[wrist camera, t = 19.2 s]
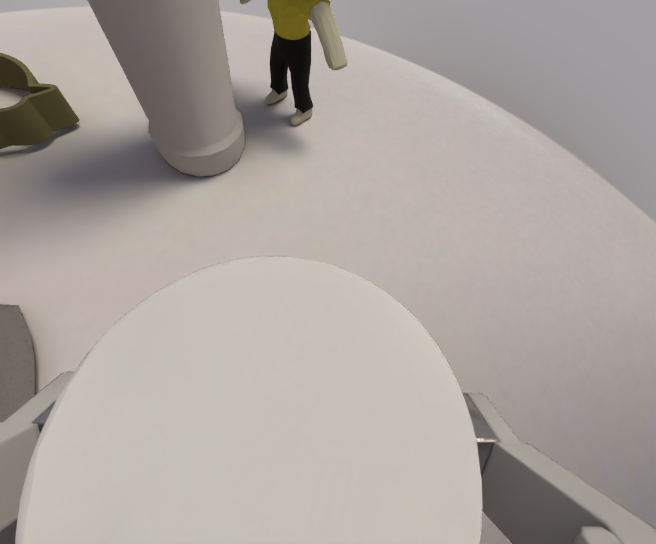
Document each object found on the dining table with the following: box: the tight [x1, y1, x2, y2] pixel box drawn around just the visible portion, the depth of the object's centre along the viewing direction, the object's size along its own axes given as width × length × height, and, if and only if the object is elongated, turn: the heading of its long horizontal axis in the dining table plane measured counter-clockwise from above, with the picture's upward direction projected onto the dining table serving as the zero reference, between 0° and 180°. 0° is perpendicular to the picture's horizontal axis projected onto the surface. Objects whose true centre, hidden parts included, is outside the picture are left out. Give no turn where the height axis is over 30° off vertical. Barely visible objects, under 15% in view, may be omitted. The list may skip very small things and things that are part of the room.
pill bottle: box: [15, 256, 482, 544], centre depth 8 cm, size 6×6×11 cm
